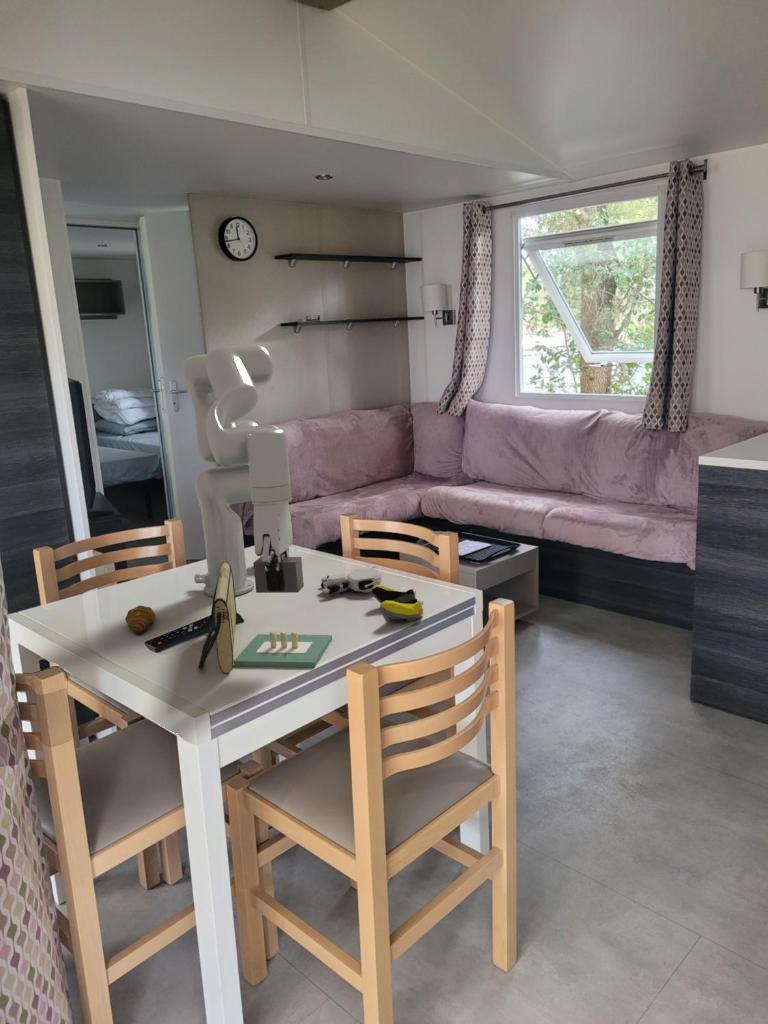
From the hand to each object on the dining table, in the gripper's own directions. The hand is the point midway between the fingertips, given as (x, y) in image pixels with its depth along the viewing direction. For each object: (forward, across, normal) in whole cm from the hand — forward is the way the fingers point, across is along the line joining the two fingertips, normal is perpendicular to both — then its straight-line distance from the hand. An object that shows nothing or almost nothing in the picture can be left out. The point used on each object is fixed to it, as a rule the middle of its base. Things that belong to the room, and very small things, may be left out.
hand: (279, 585), depth 149 cm
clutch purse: (+14, -1, -14) cm, 20 cm away
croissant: (+14, -14, -38) cm, 43 cm away
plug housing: (+1, 0, 0) cm, 1 cm away
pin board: (+14, 0, 0) cm, 14 cm away
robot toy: (+14, -40, +5) cm, 43 cm away
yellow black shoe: (+14, -23, +19) cm, 33 cm away
